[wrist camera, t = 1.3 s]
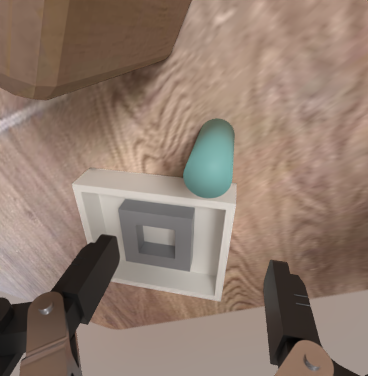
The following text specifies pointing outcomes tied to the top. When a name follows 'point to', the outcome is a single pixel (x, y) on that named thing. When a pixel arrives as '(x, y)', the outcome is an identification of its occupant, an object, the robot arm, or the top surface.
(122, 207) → the bin
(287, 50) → the top surface
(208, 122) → the peg
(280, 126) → the top surface
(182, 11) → the wooden block
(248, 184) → the top surface
